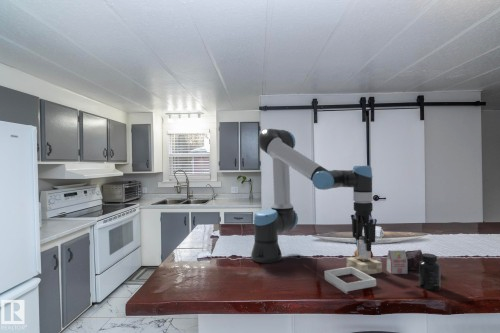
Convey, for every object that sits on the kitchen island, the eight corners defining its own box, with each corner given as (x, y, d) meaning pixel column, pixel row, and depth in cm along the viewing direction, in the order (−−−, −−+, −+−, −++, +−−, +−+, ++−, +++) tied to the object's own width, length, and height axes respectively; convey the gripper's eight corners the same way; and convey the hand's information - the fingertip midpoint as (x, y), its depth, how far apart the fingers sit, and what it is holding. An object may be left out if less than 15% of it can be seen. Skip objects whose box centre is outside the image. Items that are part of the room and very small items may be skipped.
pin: (357, 268, 125) (357, 236, 125) (364, 267, 126) (364, 235, 126) (363, 271, 121) (362, 238, 121) (370, 270, 122) (370, 237, 122)
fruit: (378, 261, 132) (369, 246, 133) (363, 269, 133) (353, 254, 134) (374, 256, 140) (365, 241, 140) (360, 263, 141) (351, 249, 142)
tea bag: (386, 272, 122) (386, 249, 122) (402, 272, 122) (402, 249, 122) (391, 276, 119) (390, 251, 119) (407, 276, 119) (407, 251, 118)
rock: (394, 269, 130) (406, 277, 120) (391, 250, 130) (402, 256, 120) (420, 264, 129) (434, 272, 119) (417, 245, 130) (430, 252, 120)
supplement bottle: (414, 284, 111) (414, 252, 111) (431, 283, 111) (431, 251, 111) (427, 291, 104) (426, 258, 104) (445, 290, 104) (444, 257, 104)
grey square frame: (324, 279, 116) (324, 270, 116) (351, 275, 120) (351, 266, 120) (346, 294, 103) (346, 284, 103) (376, 288, 107) (376, 279, 107)
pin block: (346, 269, 127) (346, 258, 127) (365, 266, 130) (365, 255, 130) (362, 277, 117) (362, 265, 117) (382, 274, 120) (381, 262, 120)
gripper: (384, 203, 117) (385, 261, 117) (357, 199, 133) (357, 250, 133) (369, 204, 114) (370, 264, 114) (343, 200, 130) (343, 252, 130)
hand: (363, 256), depth 124 cm, fingers open, 4 cm apart
